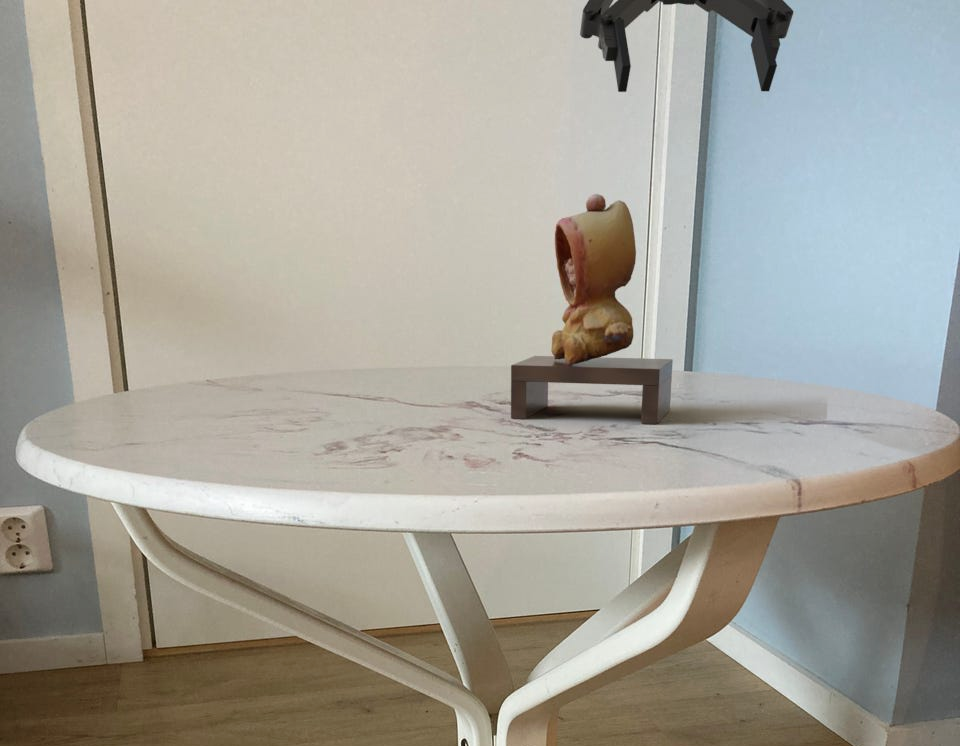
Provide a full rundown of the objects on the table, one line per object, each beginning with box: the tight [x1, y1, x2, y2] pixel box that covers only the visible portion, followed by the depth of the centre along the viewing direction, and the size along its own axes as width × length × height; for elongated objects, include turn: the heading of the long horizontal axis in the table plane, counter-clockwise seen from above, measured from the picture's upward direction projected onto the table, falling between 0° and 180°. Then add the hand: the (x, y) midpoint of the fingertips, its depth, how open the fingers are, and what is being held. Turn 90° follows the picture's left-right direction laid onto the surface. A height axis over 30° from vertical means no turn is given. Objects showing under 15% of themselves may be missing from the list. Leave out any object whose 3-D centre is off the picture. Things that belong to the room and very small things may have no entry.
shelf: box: [510, 355, 674, 425], centre depth 107 cm, size 14×9×5 cm, turn 73°
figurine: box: [551, 193, 637, 366], centre depth 104 cm, size 10×8×15 cm
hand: (697, 79), depth 102 cm, fingers open, 13 cm apart
